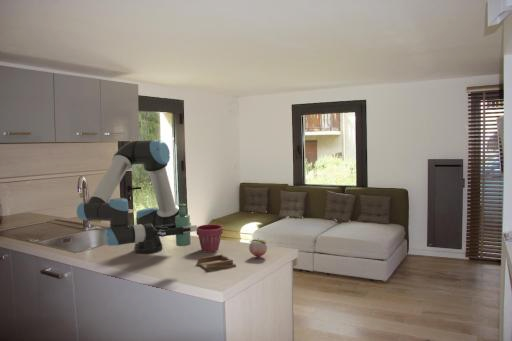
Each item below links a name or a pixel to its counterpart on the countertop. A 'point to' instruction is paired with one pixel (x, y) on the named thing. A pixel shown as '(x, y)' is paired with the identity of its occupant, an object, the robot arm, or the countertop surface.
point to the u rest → (215, 262)
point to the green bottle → (181, 222)
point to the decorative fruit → (258, 247)
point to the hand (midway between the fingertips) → (193, 226)
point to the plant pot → (209, 237)
